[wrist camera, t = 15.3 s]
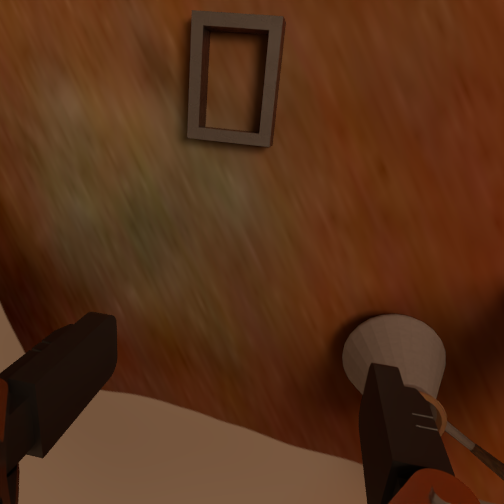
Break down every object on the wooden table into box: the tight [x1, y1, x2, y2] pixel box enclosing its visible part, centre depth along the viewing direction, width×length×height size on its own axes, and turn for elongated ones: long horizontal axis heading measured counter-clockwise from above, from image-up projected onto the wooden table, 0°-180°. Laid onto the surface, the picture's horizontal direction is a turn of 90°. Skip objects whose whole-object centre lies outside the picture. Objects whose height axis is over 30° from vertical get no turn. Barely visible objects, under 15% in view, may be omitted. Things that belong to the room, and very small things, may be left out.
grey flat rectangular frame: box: [187, 10, 286, 147], centre depth 41 cm, size 9×12×2 cm
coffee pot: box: [342, 314, 504, 480], centre depth 41 cm, size 21×12×15 cm, turn 62°
